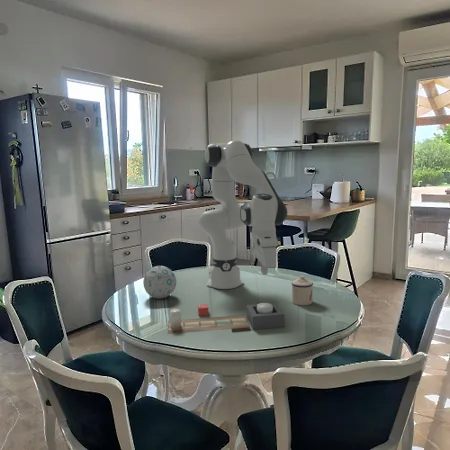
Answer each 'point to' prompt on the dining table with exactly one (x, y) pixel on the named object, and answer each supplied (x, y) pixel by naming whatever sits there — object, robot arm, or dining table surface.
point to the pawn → (175, 318)
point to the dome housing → (265, 317)
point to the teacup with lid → (302, 291)
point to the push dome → (264, 308)
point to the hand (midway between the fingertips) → (264, 273)
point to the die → (203, 309)
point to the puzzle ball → (159, 282)
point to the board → (211, 324)
